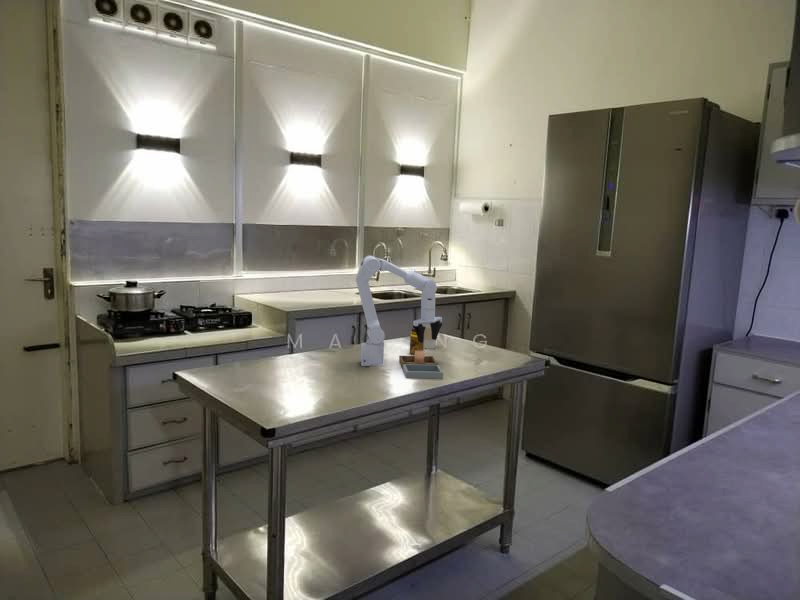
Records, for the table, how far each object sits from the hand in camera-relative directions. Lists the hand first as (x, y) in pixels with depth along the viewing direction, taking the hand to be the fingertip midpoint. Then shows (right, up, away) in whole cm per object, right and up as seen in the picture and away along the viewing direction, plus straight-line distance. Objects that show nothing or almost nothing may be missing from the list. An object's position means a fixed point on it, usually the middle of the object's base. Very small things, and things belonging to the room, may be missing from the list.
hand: (427, 340), depth 238 cm
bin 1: (-4, -10, -3) cm, 12 cm away
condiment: (-4, -8, +17) cm, 19 cm away
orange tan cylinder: (-4, -10, -3) cm, 11 cm away
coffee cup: (+2, -5, +32) cm, 32 cm away
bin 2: (-3, -12, -16) cm, 21 cm away
